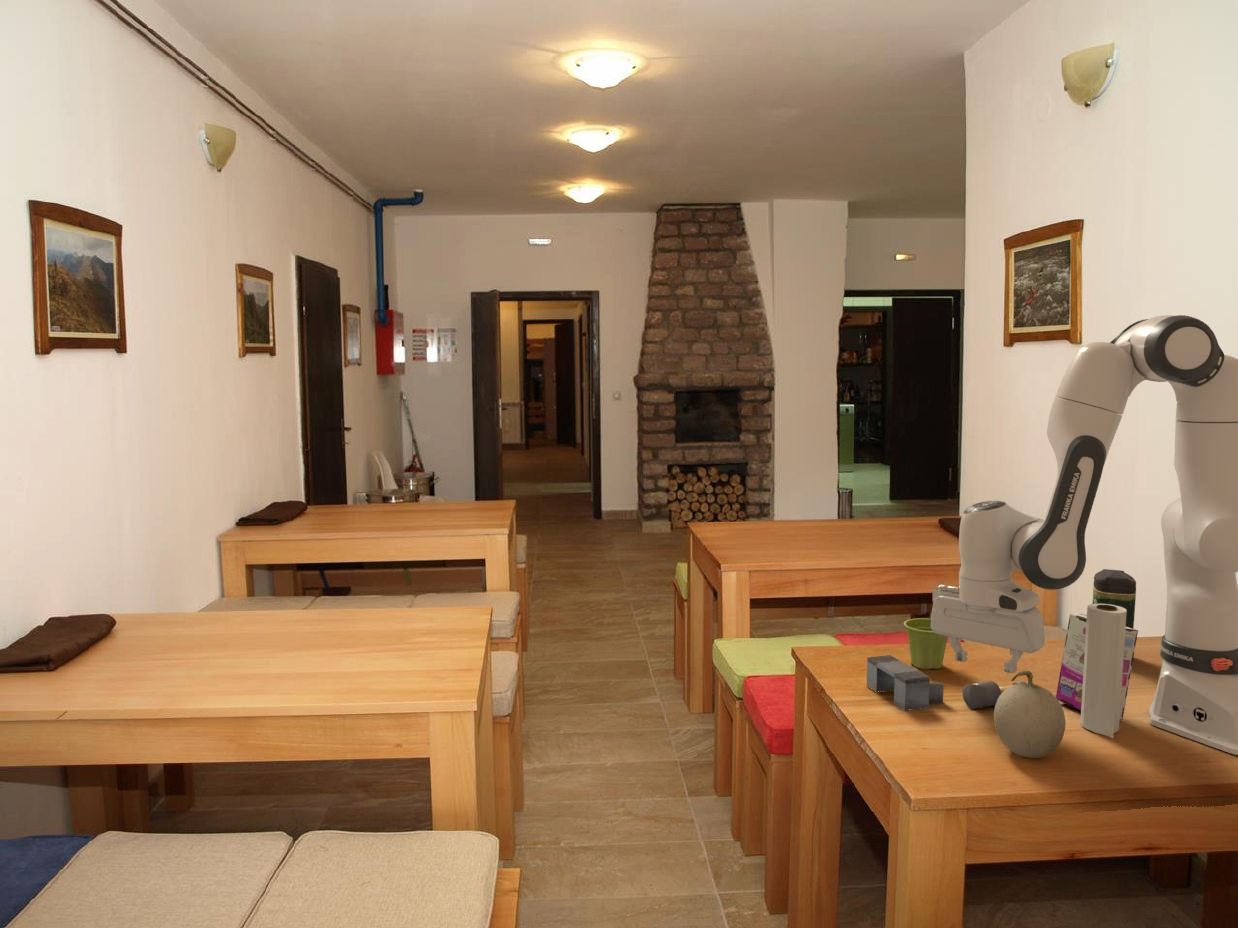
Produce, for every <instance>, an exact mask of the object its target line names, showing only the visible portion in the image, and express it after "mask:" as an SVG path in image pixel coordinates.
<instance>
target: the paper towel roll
mask: <svg viewBox="0 0 1238 928" xmlns="http://www.w3.org/2000/svg"><path fill="white" fill-rule="evenodd" d="M1126 612H1127V610H1126V609H1125V608H1123V607H1120V606H1115V605H1110V604H1092V603H1090V604H1088V605H1087V608H1086V615H1087V621H1086V638H1085V654H1084V671H1083V688H1082V705H1081V710H1080V725H1081V727H1083V728H1085V729H1086V730H1089V731H1091V732H1092V733H1095V734H1099V735H1103V736H1106V737H1108V738H1111V739H1114V733H1117V732H1119V731H1120V721H1121V720H1120V705H1121V690H1122V674H1123V659H1124V643H1125V628H1126Z"/></svg>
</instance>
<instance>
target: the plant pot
mask: <svg viewBox="0 0 1238 928" xmlns="http://www.w3.org/2000/svg"><path fill="white" fill-rule="evenodd" d="M903 625H904V627H905V630H906V631H905V632H906V634H907V638H908V646H909V647H908V648H909V655H910V663H911V665H912V666H913V667H914V668H917V669H922V670H931V669H935V670H938V669H941V668H942V667H943V662H944V658H945V657H944V656H945V652H946V647H947V642H948V639H949V636H944V635H940V634H935V633H934V632H933V630H932V628H931V618H927V617H926V618H923V617H921V618H912V619H911V618H910V619H907V620H905V621H904V622H903Z"/></svg>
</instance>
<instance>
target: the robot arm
mask: <svg viewBox="0 0 1238 928" xmlns="http://www.w3.org/2000/svg"><path fill="white" fill-rule="evenodd" d="M1143 381H1149V382H1157V383H1165V382H1168V383H1169V384H1170V386H1171V387H1172V389H1173V391H1174V394H1175V402H1176V408H1175V426H1174V427H1175V428H1174V429H1175V430H1174V433H1175V434H1174V456H1173V457H1174V458H1173V459H1174V460H1173V463H1174V464H1173V465H1174V470H1175V471H1176V475H1177V481H1178V486H1179V487H1178V489H1179V495H1180V498H1179V497H1178V499H1175V500H1174V501H1172V502H1170V503H1169V504H1168V505H1167V506H1166V508H1165V509H1164V510H1163V512H1162V514H1161V519H1160V526H1161V532H1162V537H1163V556H1164V570H1165V577H1166V578H1165V580H1166V593H1167V596H1166V597H1167V598H1166V610H1165V611H1166V612H1165V626H1164V627H1165V629H1164V635H1163V636H1162V637H1161V642H1160V654H1159V655H1160V657H1161V658H1162V660H1161V666H1160V672H1159V676H1158V682H1157V686H1156V689H1155V693H1154V696H1153V697H1154V698H1153V699H1152V703H1151V705H1150V707H1149V708H1148V713H1149V715H1150V716H1149V724H1150V725H1152V726H1154V727H1157V728H1160V729H1163V730H1165V731H1168V732H1171V733H1174V734H1177V735H1179V736H1181V737H1184V738H1187V739H1189V740H1192V741H1196V742H1198V743H1201V744H1204V745H1206V746H1209V747H1212V748H1214V749H1218V750H1221V751H1223V752H1226V753H1229V754H1231V755H1235V756H1238V581H1237V574H1236V573H1238V358H1236V357H1235V356H1231V355H1227V354H1225V353H1224V351H1223V349H1222V348H1221V346H1220V345H1219V342H1218V339H1217V337H1216V334H1215V333H1214V331H1213V330H1212V328H1211V327H1210V325H1208V324H1207V323H1206V322H1204V321H1202V320H1201V319H1198V318H1196V317H1194V316H1190V315H1185V314H1184V315H1181V314H1180V315H1168V314H1167V315H1159V316H1153V317H1151V318H1148V319H1147V318H1146V319H1142V320H1141V319H1140V320H1138V321H1136V322H1133V323H1132V324H1130V325H1128V326H1127V327H1125V329H1123V330H1122V331H1121V332H1120V333H1119V334H1118V335H1117V336H1116V337H1115V338H1113V339H1112V340H1111V341H1110V342H1108V341H1096V342H1090V343H1087V344H1085V345H1083V346H1081V347H1080V348H1079V349H1078V351H1076V353H1075V355H1074V356H1073V358H1072V359H1071V361H1070V363H1069V364H1068V367H1067V369H1066V371H1065V372H1064V375H1063V377H1062V379H1061V381H1060V384H1059V386H1058V388H1057V391H1056V393H1055V397H1054V400H1053V402H1052V404H1051V407H1050V408H1051V409H1050V411H1049V416H1048V422H1047V430H1046V435H1047V439H1048V441H1049V443H1050V445H1051V447H1052V450H1053V452H1054V454H1055V459H1056V463H1057V474H1056V475H1057V476H1056V480H1055V484H1054V487H1053V491H1052V495H1051V497H1050V501H1049V504H1048V507H1047V510H1046V514H1045V517H1044V519H1042V518H1040V517H1039V518H1038V517H1035V516H1031V515H1028V514H1026V513H1024V512H1021V511H1020V510H1017V509H1016V508H1013V507H1012V506H1010V505H1008V503H1006V502H1005V501H1002V500H987V501H980V502H978V503H974V504H972V505H969V506H968V507H966V508H965V510H964V511H963V512H962V514H961V518H960V522H959V523H960V524H959V534H958V537H959V538H958V552H959V556H960V561H961V563H960V564H961V565H960V568H959V572H958V582H959V583H958V586H949V585H947V584H939V586H936V587H935V588H934V589H933V590H932V603H933V604H932V609H931V615H930V616H931V617H930V619H931V628H932V630H933V632H934V633H935V634H940V635H944V636H948V643H949V644H950V647H951V648H952V650H953V651H954V653H955V655H954V659H955V661H956V662H961V663H965V662H967V660H968V651H967V650H964V649H963V646H962V644H961V642H962V640H964V641H969V642H973V643H977V644H983V645H989V646H991V647H997V648H1003V649H1007V650H1009V655H1010V656H1012V657H1011V659H1010V660H1007V661H1004V663H1003V664H1004V665H1003V667H1004V669H1003V671H1004V672H1005V673H1008V674H1015V673H1016V672H1017V670H1018V662H1019V661H1020V659H1021V658H1022V656H1023V655H1024V653H1026V654H1035V653H1037V652H1039V651H1040V650H1041V649H1042V648H1044V645H1045V624H1044V619H1043V618H1044V617H1043V614H1042V612H1041V610H1040V609H1039V608H1037V606H1039V605H1040V603H1041V598H1040V595H1039V594H1038V593H1037V592H1035V591H1033V590H1031V589H1028V588H1026V587H1025V586H1022V585H1020V584H1018V583H1017V582H1015V581H1013V580H1012V576H1013V573H1014V572H1018V571H1019V572H1021V571H1022V573H1023V574H1024V576H1025V577H1026V579H1027V580H1028V581H1029V582H1030V583H1031V584H1033V585H1034V586H1036V587H1037V588H1041V589H1044V590H1049V591H1051V590H1053V591H1054V590H1061V589H1065V588H1067V587H1069V586H1071V585H1073V584H1074V583H1075V582H1076V581H1078V579H1080V577H1081V576H1082V574H1083V572H1084V571H1085V568H1086V564H1087V563H1086V562H1087V553H1086V552H1087V551H1086V543H1085V540H1086V530H1087V526H1088V522H1089V520H1090V515H1091V512H1092V509H1093V506H1094V502H1095V499H1096V496H1097V491H1098V488H1099V485H1100V482H1101V477H1102V475H1103V471H1104V466H1105V464H1106V460H1107V457H1108V455H1109V451H1110V449H1111V446H1112V444H1113V440H1114V439H1115V436H1116V434H1117V432H1118V428H1119V426H1120V423H1121V420H1122V417H1123V414H1124V413H1125V409H1126V406H1127V403H1128V400H1129V397H1130V396H1131V394H1132V393H1133V391H1134V390H1135V388H1136V387H1137V386H1138V385H1140V384H1141V383H1142V382H1143Z"/></svg>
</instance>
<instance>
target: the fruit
mask: <svg viewBox="0 0 1238 928" xmlns="http://www.w3.org/2000/svg"><path fill="white" fill-rule="evenodd" d="M1021 676H1026V678H1027V684H1016V685H1013V686H1011V687H1009V688H1007V689H1006V690H1005V691H1004V692H1003V693H1002V694H1001V695H1000V696H999V698H998V700H997V703H996V705H995V706H994V710H993V721H994V727H995V732H996V733H997V735H998V737H999V740H1000V741H1001V742H1002V744H1003V745H1004V746H1005V747H1006V748H1007V749H1008V750H1010V751H1011V752H1012V753H1014V754H1015V755H1018V756H1020V757H1023V758H1028V759H1040V758H1044V757H1046V756H1049V755H1050V754H1052V753H1053V752H1054V751H1056V749H1058V747H1059V745H1060V744H1061V743H1062V741H1063V739H1064V735H1065V730H1066V716H1065V711H1064V709H1063V707H1062V704H1061V701H1058V699H1057V698H1056V695H1055V694H1053V693H1052V692H1051V691H1049V690H1048V689H1046V688H1045V687H1043V686H1041V685H1038V684H1034V683H1033V678H1034V674H1033V672H1031V671H1030V670H1022V671H1020V672H1018V673H1017V674H1015V675H1014V676H1013V677H1012V678H1011V682H1014V681H1015V680H1016V679H1017V677H1021Z"/></svg>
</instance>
